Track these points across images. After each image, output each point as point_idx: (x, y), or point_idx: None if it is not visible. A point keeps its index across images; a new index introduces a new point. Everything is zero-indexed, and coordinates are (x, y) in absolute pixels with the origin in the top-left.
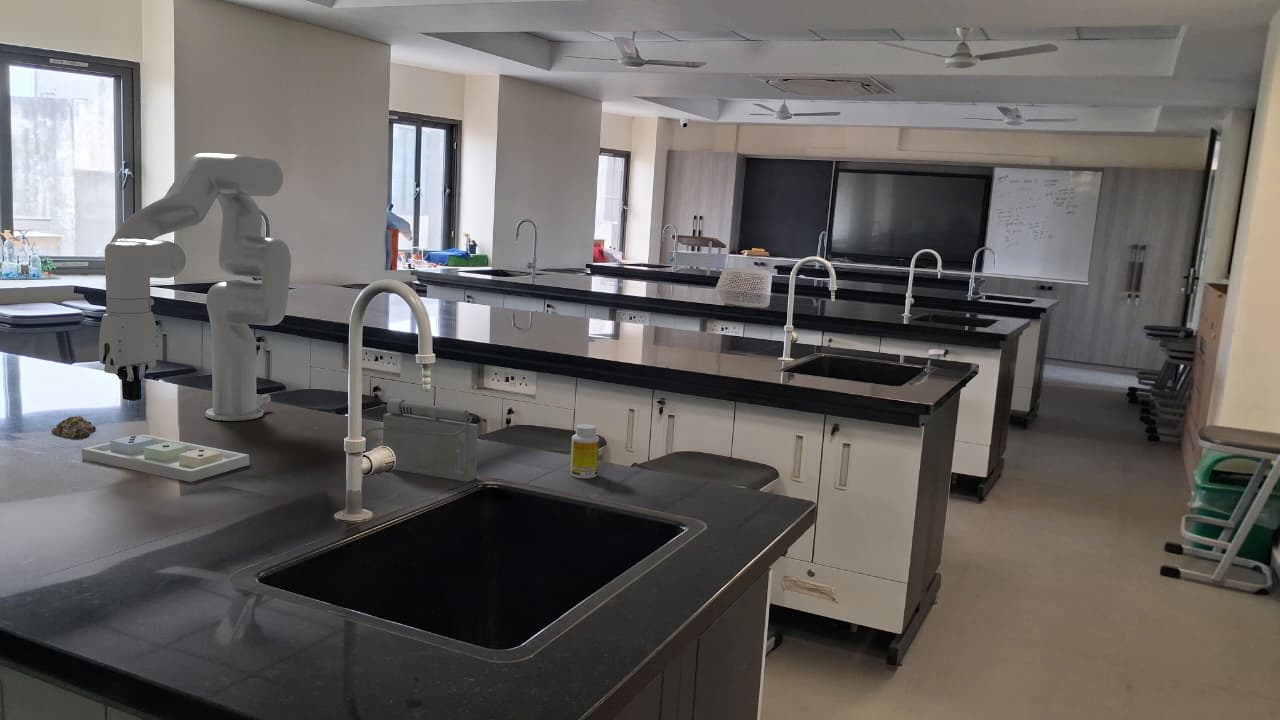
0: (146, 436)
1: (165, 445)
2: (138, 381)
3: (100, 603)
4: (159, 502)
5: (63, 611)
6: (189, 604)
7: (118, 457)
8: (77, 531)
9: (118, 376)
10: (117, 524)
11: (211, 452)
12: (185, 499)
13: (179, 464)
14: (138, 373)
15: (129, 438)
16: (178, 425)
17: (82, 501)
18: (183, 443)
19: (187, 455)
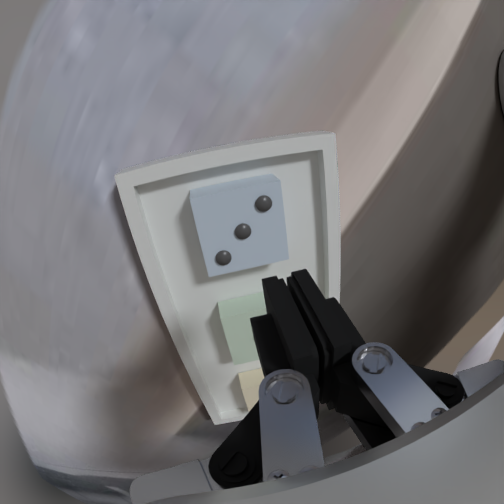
0: (325, 158)
1: None
2: (327, 403)
3: (74, 486)
4: (145, 437)
5: (59, 481)
6: (111, 499)
7: (158, 303)
8: (62, 441)
9: (243, 423)
10: (94, 449)
11: None
12: (173, 442)
13: (238, 374)
14: (354, 430)
15: (246, 210)
16: (454, 52)
17: (68, 398)
18: (331, 285)
19: (247, 399)
